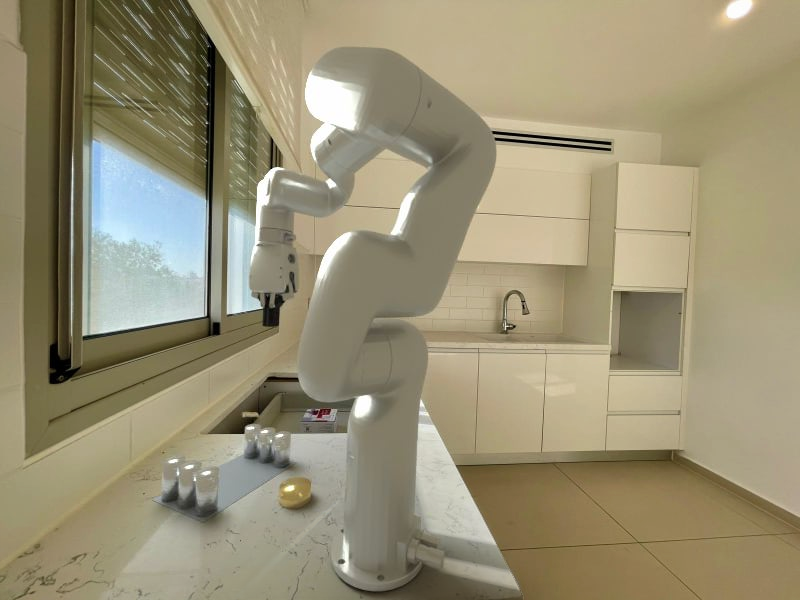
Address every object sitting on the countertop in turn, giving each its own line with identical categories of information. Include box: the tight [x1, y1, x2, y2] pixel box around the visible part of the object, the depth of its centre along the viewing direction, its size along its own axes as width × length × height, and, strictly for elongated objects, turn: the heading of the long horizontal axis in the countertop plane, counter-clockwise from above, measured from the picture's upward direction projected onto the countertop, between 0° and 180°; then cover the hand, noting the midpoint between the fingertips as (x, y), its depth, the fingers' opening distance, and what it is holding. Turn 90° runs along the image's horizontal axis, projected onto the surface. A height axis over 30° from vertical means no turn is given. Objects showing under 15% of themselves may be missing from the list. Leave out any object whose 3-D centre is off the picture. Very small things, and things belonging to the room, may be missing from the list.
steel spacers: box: [161, 423, 292, 517], centre depth 60 cm, size 11×19×6 cm, turn 157°
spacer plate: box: [151, 453, 297, 523], centre depth 60 cm, size 12×20×1 cm, turn 157°
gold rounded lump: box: [278, 476, 312, 510], centre depth 54 cm, size 5×5×3 cm
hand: (270, 326), depth 70 cm, fingers closed
